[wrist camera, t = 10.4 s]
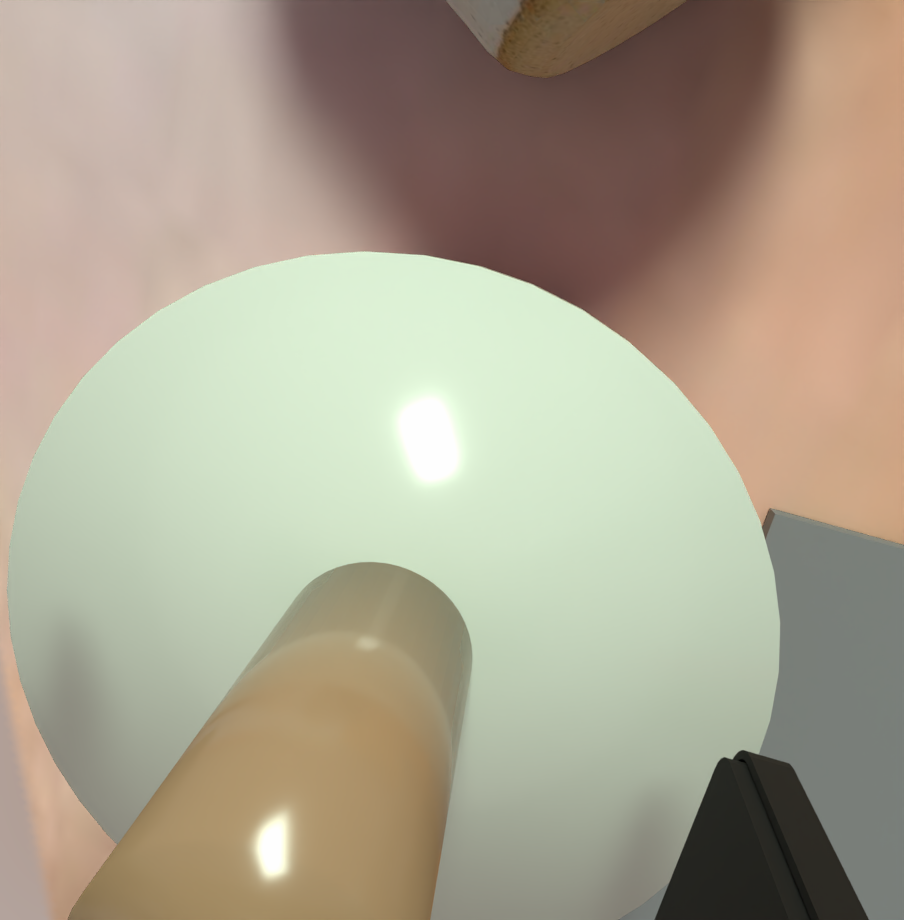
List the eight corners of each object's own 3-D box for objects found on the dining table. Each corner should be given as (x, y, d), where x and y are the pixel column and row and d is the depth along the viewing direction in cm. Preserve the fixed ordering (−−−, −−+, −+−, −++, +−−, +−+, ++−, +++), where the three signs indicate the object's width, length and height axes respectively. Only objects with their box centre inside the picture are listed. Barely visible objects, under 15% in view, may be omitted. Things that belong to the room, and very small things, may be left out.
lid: (862, 367, 12) (1363, 536, 5) (621, 967, 15) (699, 1636, 8) (122, 166, 13) (-471, 35, 5) (34, 789, 16) (-419, 1263, 8)
